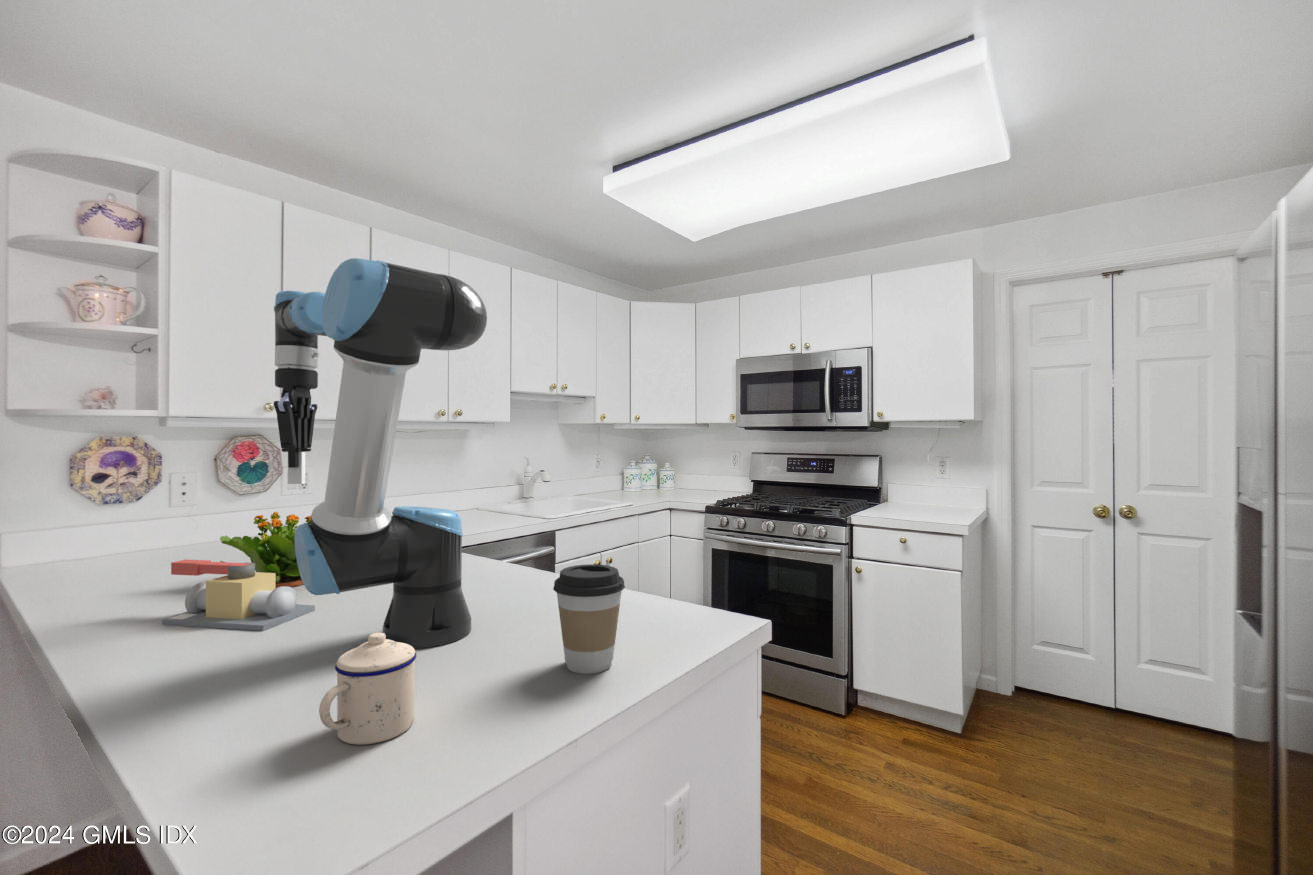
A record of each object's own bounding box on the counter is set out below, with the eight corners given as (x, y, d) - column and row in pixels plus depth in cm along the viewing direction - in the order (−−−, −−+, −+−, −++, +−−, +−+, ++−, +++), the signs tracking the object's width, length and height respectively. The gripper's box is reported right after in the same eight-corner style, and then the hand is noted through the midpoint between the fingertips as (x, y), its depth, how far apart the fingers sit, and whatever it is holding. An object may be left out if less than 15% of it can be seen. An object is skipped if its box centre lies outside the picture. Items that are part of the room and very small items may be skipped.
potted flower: (296, 600, 128) (296, 520, 128) (189, 599, 128) (189, 520, 128) (356, 573, 153) (356, 506, 153) (267, 572, 153) (267, 506, 153)
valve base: (314, 610, 121) (314, 571, 121) (263, 630, 108) (263, 587, 108) (222, 604, 124) (222, 567, 124) (162, 624, 111) (162, 582, 111)
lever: (260, 574, 118) (260, 561, 118) (242, 580, 114) (242, 566, 114) (188, 571, 120) (188, 558, 120) (167, 576, 116) (167, 563, 116)
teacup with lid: (380, 705, 78) (380, 619, 78) (432, 718, 75) (432, 628, 75) (294, 749, 67) (294, 649, 67) (349, 767, 64) (349, 661, 64)
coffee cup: (635, 656, 96) (635, 565, 96) (607, 684, 85) (607, 582, 85) (573, 648, 100) (573, 560, 100) (539, 673, 89) (539, 575, 89)
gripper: (299, 365, 114) (299, 486, 114) (330, 372, 126) (330, 480, 127) (259, 364, 113) (258, 486, 113) (293, 372, 126) (293, 481, 126)
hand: (296, 483), depth 120 cm, fingers closed
